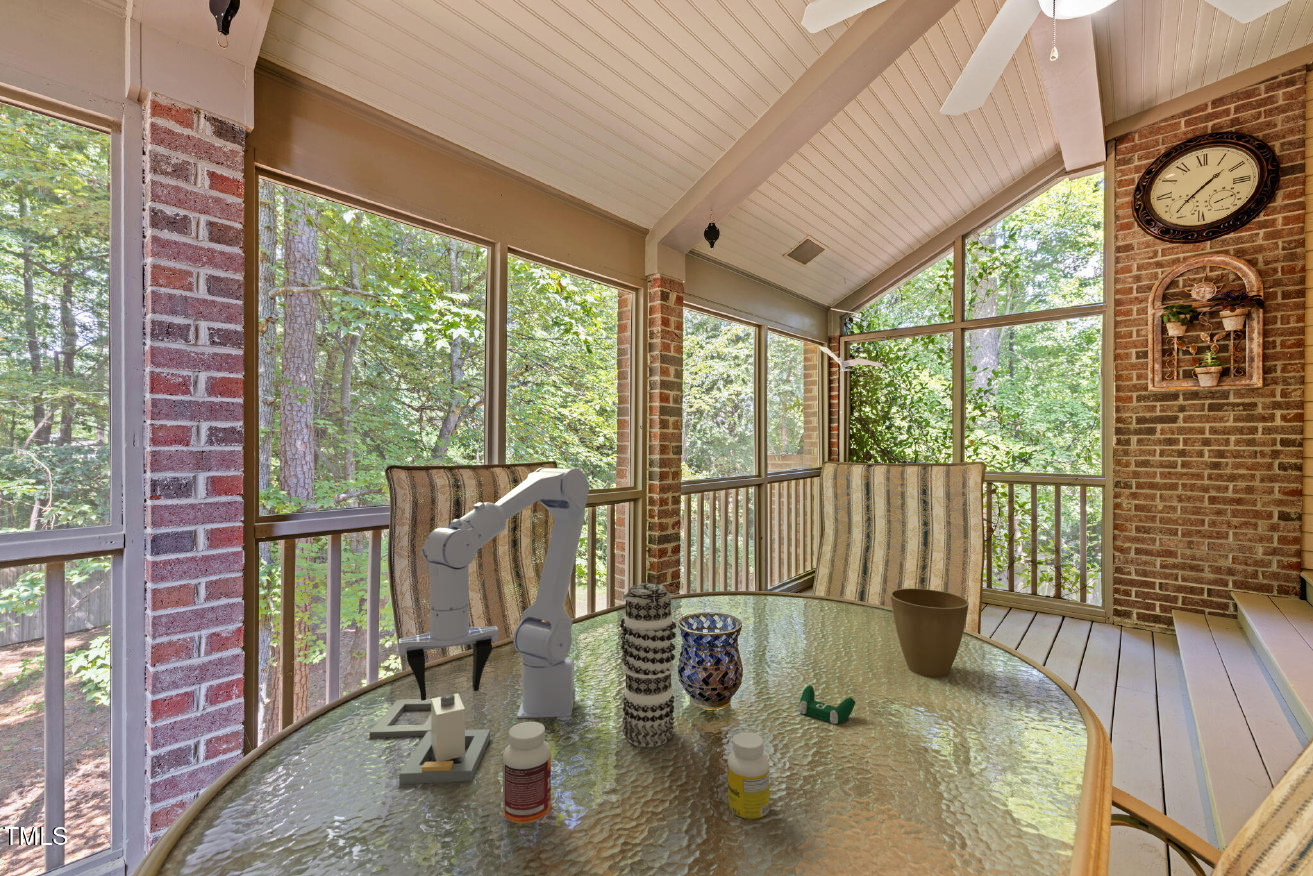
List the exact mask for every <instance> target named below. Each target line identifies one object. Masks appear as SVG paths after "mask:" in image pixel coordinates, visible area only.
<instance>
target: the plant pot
mask: <svg viewBox="0 0 1313 876" xmlns="http://www.w3.org/2000/svg"><path fill="white" fill-rule="evenodd" d="M890 601H891V609H892V614H893V620H894V626H895V630H896V634H897V637H898V640H899V645H900V647H901V651H902V652H901V653H902V654H903V657H904V661H905V663H906V665H907V669H908V670H909V671H910V672H912V673H913V674H916V675H919V676H923V677H927V678H944V677H947V676H948V675H949V674H950V672H951V669H952V667H953V665H954V661H955V659H956V656H957V654H958V651H959V648H960V646H961V641H962V639H963V636H964V631H965V627H966V621H967V617H968V613H969V612H968V611H969V606H970V605H969V604H970V601H969V600H967V598H965V597H963V596H960V595H958V594H954V593H951V592H946V591H942V590H937V589H930V588H929V589H928V588H913V587H912V588H911V587H910V588H907V587H906V588H898V589H894V590H893V591H891V593H890Z"/></svg>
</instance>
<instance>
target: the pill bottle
mask: <svg viewBox="0 0 1313 876" xmlns="http://www.w3.org/2000/svg"><path fill="white" fill-rule="evenodd" d="M545 738H546V728H545V725H544V724H543V723H541V722H538V721H523V722H520V723H517V724H515V725H513V726H511V727H510V728H509V731H508V740H507V741H508V745H507V746H506V748H505V749H504V752H503V755H502V813H503V816H504V818H505V819H506V820H507V821H509V822H512V823H515V824H527V823H533V822H535V821H538V820H540V819H542V818H543V817H546V815H547V814H548V813H549V812H550V810H551V807H552V766H551V765H552V753H551V752H552V750H551V746H550V744H549V743H548V742H547V741H546V740H545Z"/></svg>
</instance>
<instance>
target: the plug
mask: <svg viewBox="0 0 1313 876" xmlns="http://www.w3.org/2000/svg"><path fill="white" fill-rule="evenodd" d="M430 699H431V709H430V714H431V745H432V748H433V755H434V758H435V762H437V761H450V760H452V759H458V758H462V757H464V756H465V754H466V746H465V730H466V707H465V706H464V704H463V702H462V699H461V697H460V695H459V693H453V694H452V693H451V694H450V693H447V694H444V695H441V696H438V697H433V698H430Z"/></svg>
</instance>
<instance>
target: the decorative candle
mask: <svg viewBox="0 0 1313 876" xmlns="http://www.w3.org/2000/svg"><path fill="white" fill-rule="evenodd" d="M622 597H623V598H622V599H624V600H625V613H624V618H622V619H621V620H620V624H619V627H620V628H621V631H622V632H621V634H620V635H621V636H620V639H621V645H620V649H621V650H622V655H621V657H622V658H621V662H622V663H623V664H622V671H623V672H624V673H625V683H624V694H623V696H622V702H623V707H622V712H623V717H622V719H621V720H622V724H623V727H622V730H621V731H622V733H623V735H624V737H625V739H627V741H628V742H629V743H630V744H631V745H632V744H633V745H635V746H637V747H643V748H651V747H657V746H662V745H663V744H666V743H667V742H668V741H669V740H670V739H671V738H672V736H673V735H674V734H675V731H674V730H675V726H674V725H675V721H674V720H675V717H674V712H675V706H674V703H675V696H674V694H673V685H672V684H673V683H672V673H673V671H674V670H675V667H674V662H673V661H674V660H675V658H676V655H675V654H674V653H673V652H674V651H675V650H676V645H675V644H674V643H673V642H671V641H672V640H674V639H675V638H676V637H677V633H676V632H675V631H673V630H675V629H677V622H675V621H673V613H672V598H673V594H672V593H670V592H669V591H668V590H667V588H666V587H665V586H664V585H661V584H658V583H651V582H648V583H647V582H646V583H645V582H644V583H638V584H634V585H632V586H631V587H630V588H629V589H628V592H626V593H625V594H623V596H622Z"/></svg>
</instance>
